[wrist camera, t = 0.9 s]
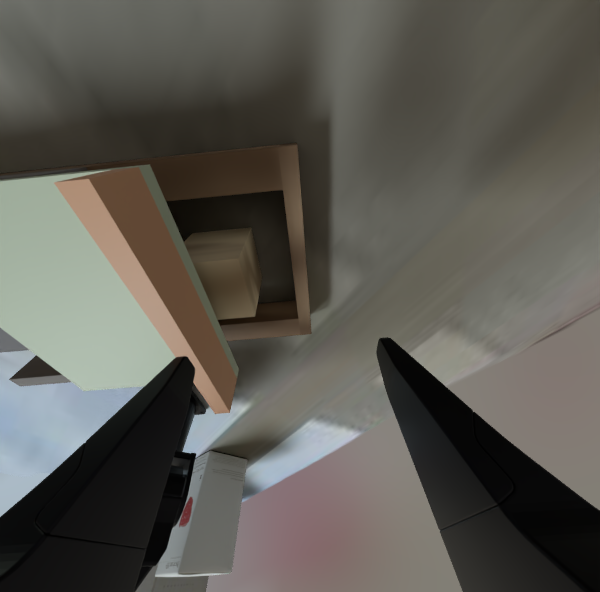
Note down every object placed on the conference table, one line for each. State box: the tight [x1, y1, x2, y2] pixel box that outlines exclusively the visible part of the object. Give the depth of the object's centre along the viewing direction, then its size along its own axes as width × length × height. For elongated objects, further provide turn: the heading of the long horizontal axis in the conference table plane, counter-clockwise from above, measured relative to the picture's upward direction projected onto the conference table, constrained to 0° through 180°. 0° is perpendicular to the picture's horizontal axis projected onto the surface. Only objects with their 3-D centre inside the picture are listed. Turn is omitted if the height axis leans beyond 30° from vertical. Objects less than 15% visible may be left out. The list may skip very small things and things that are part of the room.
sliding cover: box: [0, 164, 239, 414], centre depth 12 cm, size 14×12×3 cm
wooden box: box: [0, 143, 311, 386], centre depth 15 cm, size 14×24×6 cm, turn 95°
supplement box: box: [155, 451, 247, 577], centre depth 40 cm, size 9×9×15 cm
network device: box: [135, 560, 209, 592], centre depth 54 cm, size 26×9×20 cm, turn 9°
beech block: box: [184, 227, 262, 320], centre depth 15 cm, size 4×4×5 cm
